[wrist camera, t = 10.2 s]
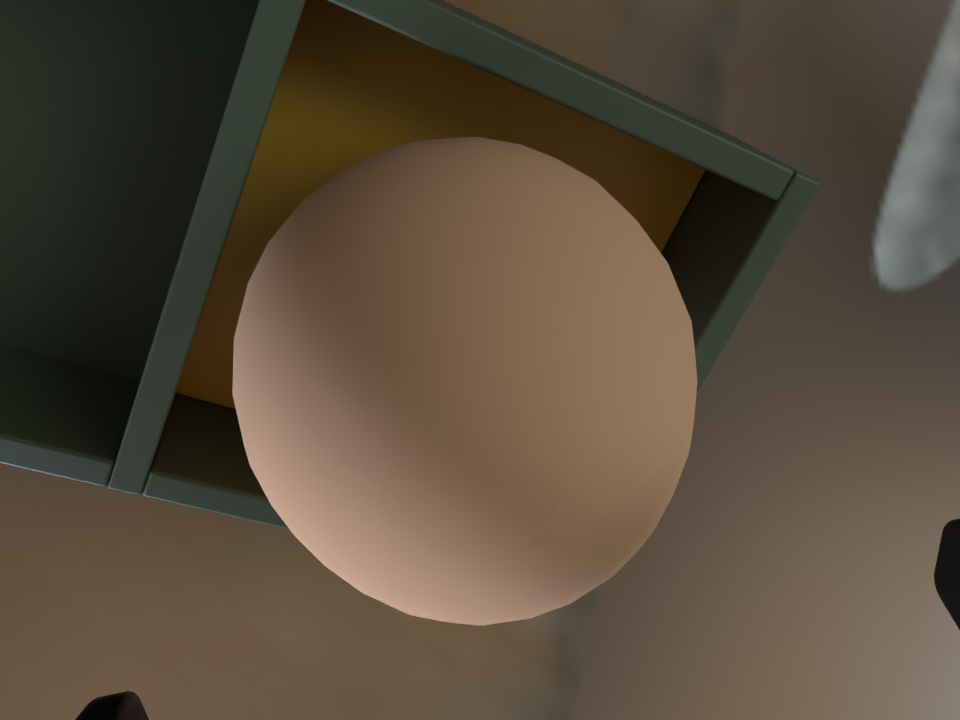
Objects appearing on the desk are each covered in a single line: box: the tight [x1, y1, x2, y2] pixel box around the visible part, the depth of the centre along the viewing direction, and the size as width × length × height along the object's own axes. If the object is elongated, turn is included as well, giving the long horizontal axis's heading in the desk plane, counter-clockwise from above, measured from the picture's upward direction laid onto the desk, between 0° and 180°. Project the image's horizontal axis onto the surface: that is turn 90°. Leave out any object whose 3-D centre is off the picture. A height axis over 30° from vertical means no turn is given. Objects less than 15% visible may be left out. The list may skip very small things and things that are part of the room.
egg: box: [232, 137, 697, 626], centre depth 14 cm, size 7×7×8 cm
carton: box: [0, 0, 820, 529], centre depth 15 cm, size 19×10×4 cm, turn 65°
